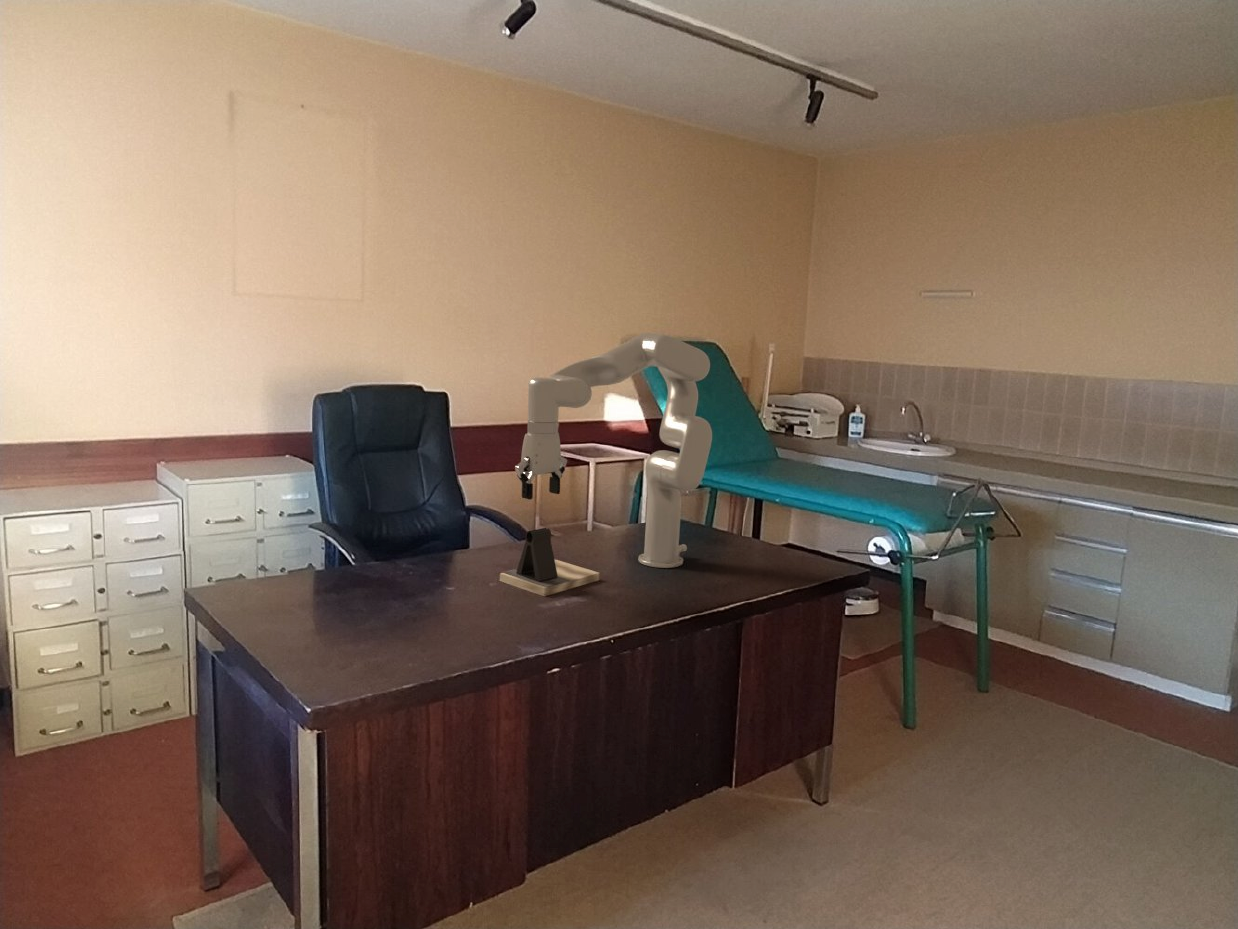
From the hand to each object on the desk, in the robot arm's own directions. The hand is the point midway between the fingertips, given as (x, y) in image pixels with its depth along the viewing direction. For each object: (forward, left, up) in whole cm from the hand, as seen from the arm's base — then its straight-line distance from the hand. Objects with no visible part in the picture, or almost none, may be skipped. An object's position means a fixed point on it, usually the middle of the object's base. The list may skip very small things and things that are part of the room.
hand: (541, 495), depth 224 cm
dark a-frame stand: (+2, +1, -21) cm, 21 cm away
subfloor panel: (-3, +1, -23) cm, 23 cm away
